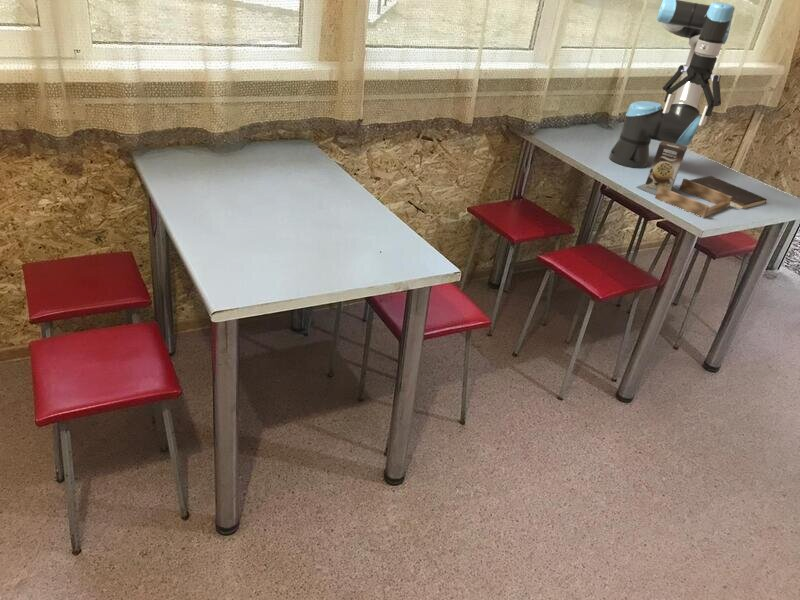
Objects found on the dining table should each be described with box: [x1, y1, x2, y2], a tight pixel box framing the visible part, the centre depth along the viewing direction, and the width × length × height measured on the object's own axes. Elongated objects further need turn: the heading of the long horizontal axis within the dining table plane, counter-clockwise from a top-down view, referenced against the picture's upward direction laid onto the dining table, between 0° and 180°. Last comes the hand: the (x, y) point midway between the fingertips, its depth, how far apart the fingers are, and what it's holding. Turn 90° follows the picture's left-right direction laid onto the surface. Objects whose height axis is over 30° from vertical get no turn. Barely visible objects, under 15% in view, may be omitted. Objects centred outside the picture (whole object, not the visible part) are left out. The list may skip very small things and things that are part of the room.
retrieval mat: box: [635, 183, 679, 196], centre depth 237 cm, size 9×14×1 cm, turn 131°
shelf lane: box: [654, 178, 732, 218], centre depth 228 cm, size 18×19×4 cm
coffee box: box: [644, 140, 688, 191], centre depth 232 cm, size 9×6×16 cm
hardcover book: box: [689, 175, 767, 210], centre depth 241 cm, size 16×23×2 cm
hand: (683, 118), depth 225 cm, fingers open, 13 cm apart
